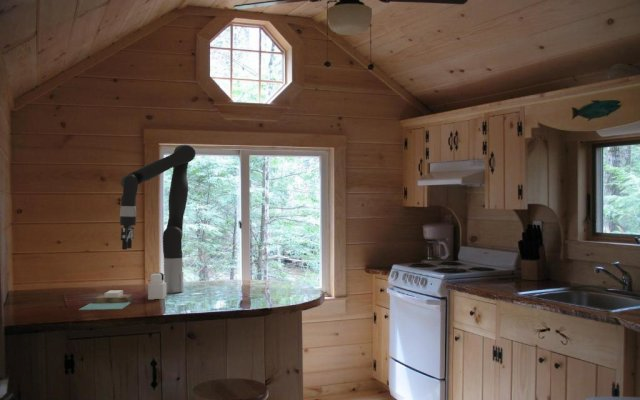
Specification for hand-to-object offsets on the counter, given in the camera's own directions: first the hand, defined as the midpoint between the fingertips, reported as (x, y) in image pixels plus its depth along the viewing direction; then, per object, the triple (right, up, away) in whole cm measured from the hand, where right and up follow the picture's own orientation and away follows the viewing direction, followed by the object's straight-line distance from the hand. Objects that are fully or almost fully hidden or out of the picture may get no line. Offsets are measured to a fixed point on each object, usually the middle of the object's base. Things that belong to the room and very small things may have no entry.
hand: (126, 248), depth 305 cm
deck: (-1, -23, -16) cm, 28 cm away
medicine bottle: (+17, -23, -8) cm, 30 cm away
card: (-1, -21, -16) cm, 26 cm away
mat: (0, -23, -30) cm, 38 cm away
